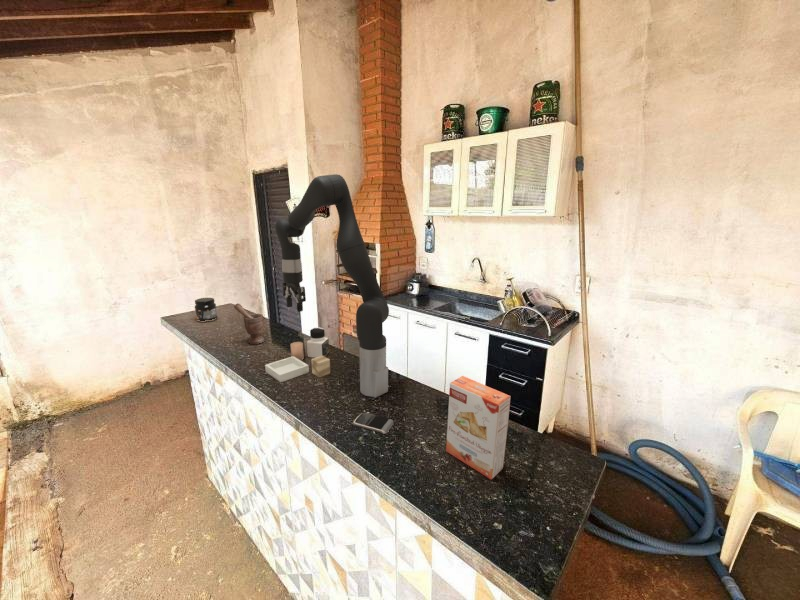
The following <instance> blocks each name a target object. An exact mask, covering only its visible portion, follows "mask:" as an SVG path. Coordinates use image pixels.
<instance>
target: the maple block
mask: <svg viewBox="0 0 800 600" xmlns="http://www.w3.org/2000/svg"><path fill="white" fill-rule="evenodd" d="M311 374H312V375H315V377H318V378H319V379H320V378H322V377H325V376H327V375H330V374H331V360H330V358H328V357H327V356H325V357H324V356H320V357H317V358H311Z"/></svg>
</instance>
